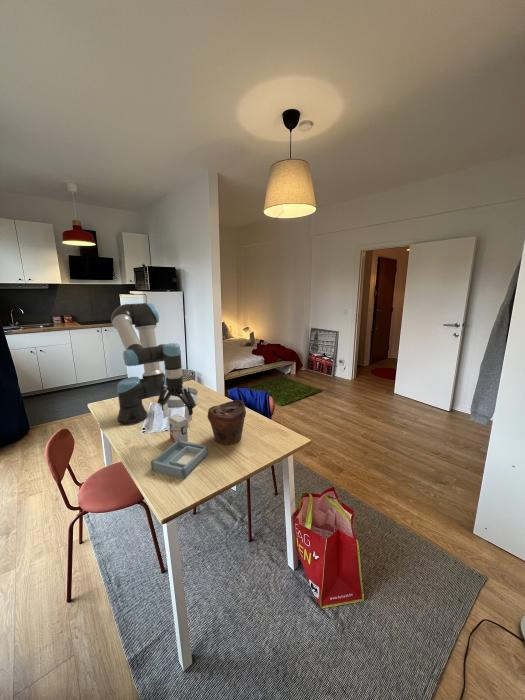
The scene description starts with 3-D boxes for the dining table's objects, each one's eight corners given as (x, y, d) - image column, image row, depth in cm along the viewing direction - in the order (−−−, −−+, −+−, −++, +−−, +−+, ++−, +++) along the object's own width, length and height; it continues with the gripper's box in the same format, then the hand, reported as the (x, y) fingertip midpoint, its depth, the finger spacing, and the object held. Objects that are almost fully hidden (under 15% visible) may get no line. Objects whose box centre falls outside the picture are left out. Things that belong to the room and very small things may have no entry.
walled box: (151, 470, 118) (150, 461, 117) (178, 447, 134) (177, 439, 133) (184, 479, 112) (183, 470, 112) (208, 454, 129) (207, 446, 128)
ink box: (169, 438, 142) (167, 416, 139) (178, 434, 146) (176, 413, 143) (179, 444, 137) (178, 422, 134) (188, 440, 140) (187, 418, 138)
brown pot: (200, 445, 136) (198, 410, 132) (221, 426, 154) (220, 394, 150) (234, 453, 130) (233, 416, 126) (251, 432, 148) (251, 400, 144)
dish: (205, 397, 195) (204, 390, 194) (184, 409, 175) (183, 402, 174) (179, 392, 204) (178, 385, 203) (156, 404, 184) (155, 396, 183)
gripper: (147, 376, 135) (151, 418, 139) (192, 381, 126) (195, 426, 131) (157, 372, 142) (161, 412, 146) (201, 376, 133) (204, 419, 138)
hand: (177, 419), depth 138 cm, fingers open, 13 cm apart
